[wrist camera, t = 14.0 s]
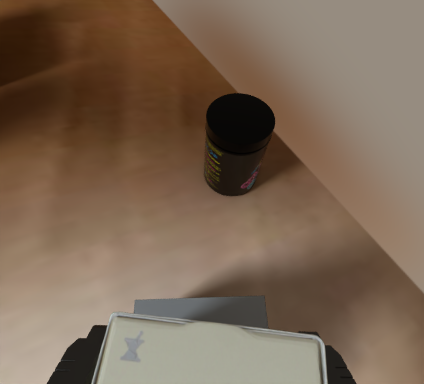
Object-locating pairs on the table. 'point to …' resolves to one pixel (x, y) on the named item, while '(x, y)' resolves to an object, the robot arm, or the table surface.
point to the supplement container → (236, 142)
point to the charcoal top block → (209, 309)
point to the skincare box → (205, 353)
